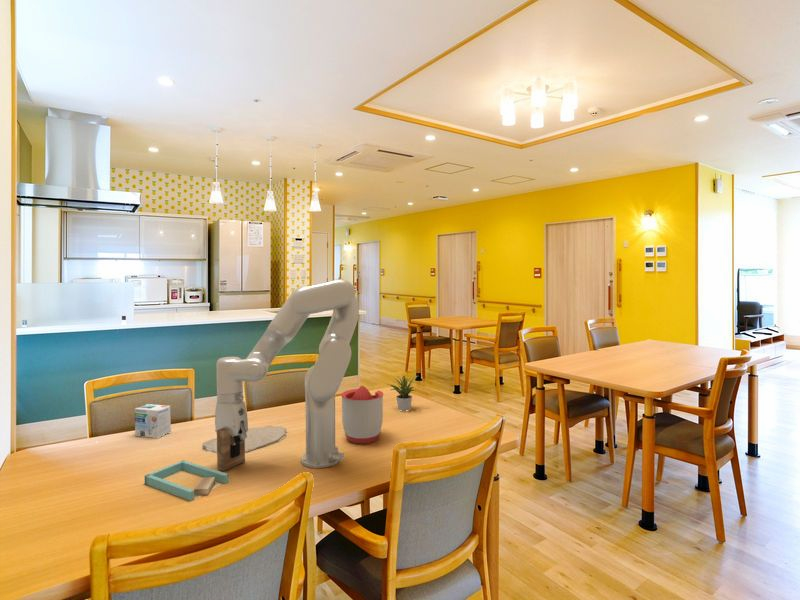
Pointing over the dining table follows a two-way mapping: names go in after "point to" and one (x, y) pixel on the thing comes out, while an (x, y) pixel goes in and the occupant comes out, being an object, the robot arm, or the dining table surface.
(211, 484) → the offcut slab upper
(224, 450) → the tall oak sheet
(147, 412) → the light bulb box
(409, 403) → the house plant
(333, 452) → the robot arm
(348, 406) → the citrus juicer
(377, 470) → the dining table surface
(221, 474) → the open frame
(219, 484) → the offcut slab lower
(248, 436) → the stone tablet
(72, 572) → the dining table surface
